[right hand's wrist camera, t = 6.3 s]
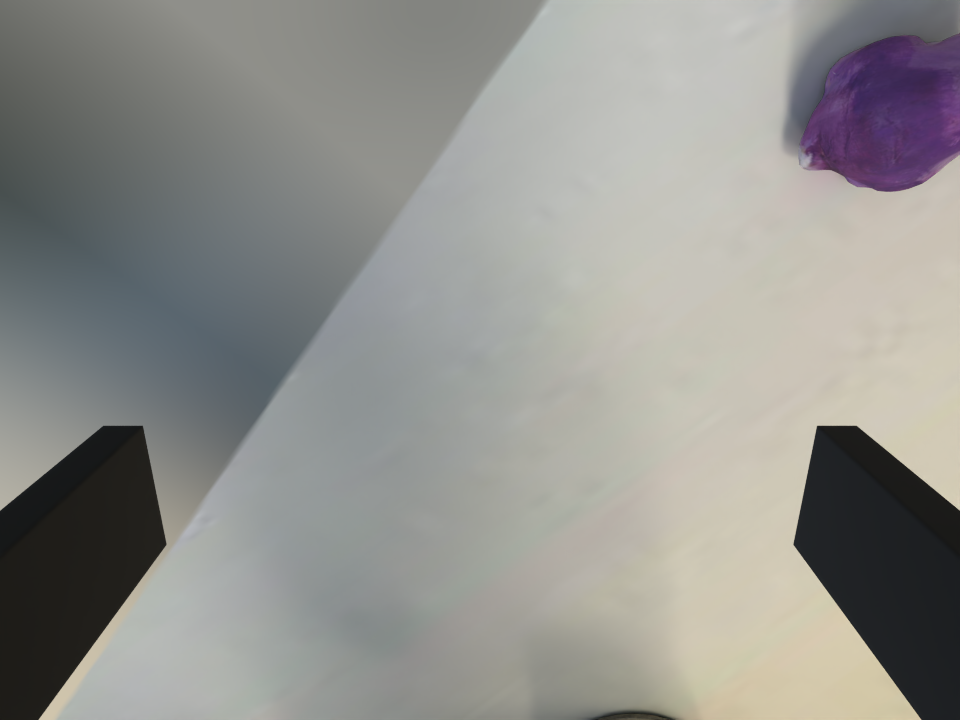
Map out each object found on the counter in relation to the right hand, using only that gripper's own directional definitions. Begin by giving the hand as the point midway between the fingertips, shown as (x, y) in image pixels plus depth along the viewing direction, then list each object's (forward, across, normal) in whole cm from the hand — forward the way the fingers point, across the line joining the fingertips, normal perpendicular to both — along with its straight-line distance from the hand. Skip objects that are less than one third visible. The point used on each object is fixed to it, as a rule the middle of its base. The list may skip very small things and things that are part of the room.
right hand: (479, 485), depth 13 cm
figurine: (+31, -24, -8) cm, 40 cm away
